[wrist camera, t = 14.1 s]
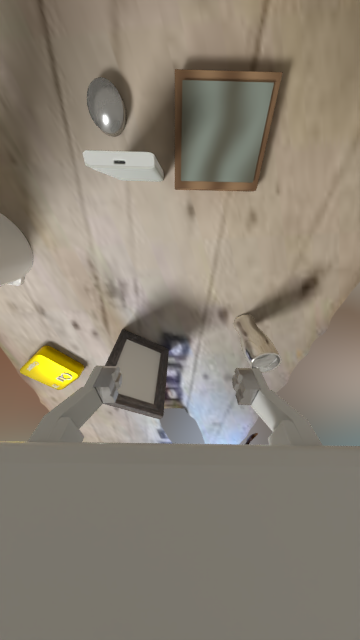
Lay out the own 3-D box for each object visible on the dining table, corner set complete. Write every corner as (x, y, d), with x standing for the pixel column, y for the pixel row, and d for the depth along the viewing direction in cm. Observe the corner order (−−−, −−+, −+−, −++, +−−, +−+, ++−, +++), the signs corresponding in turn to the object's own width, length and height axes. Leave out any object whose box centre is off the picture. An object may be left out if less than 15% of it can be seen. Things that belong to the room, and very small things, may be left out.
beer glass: (226, 323, 48) (242, 364, 35) (246, 308, 45) (271, 347, 32) (241, 335, 50) (260, 377, 38) (260, 321, 47) (288, 362, 35)
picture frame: (168, 349, 54) (163, 416, 37) (165, 352, 55) (159, 420, 38) (122, 329, 49) (91, 396, 32) (120, 333, 50) (88, 400, 33)
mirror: (175, 189, 30) (174, 188, 28) (175, 81, 23) (174, 66, 21) (250, 191, 30) (257, 190, 28) (273, 84, 23) (284, 69, 21)
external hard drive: (163, 182, 29) (155, 169, 19) (118, 180, 29) (85, 167, 19) (163, 169, 28) (154, 150, 18) (116, 168, 28) (80, 148, 18)
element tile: (46, 342, 53) (35, 353, 49) (87, 366, 60) (80, 377, 56) (26, 362, 59) (15, 373, 55) (66, 381, 65) (59, 392, 61)
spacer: (98, 136, 26) (92, 132, 25) (88, 85, 23) (81, 76, 22) (129, 137, 26) (125, 132, 25) (123, 86, 24) (119, 77, 22)
